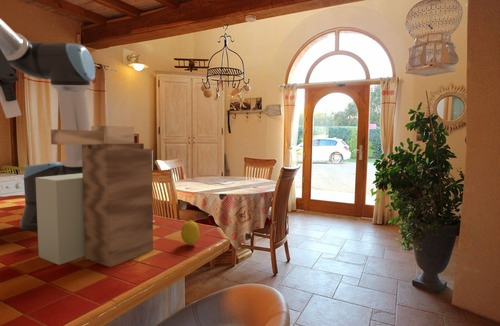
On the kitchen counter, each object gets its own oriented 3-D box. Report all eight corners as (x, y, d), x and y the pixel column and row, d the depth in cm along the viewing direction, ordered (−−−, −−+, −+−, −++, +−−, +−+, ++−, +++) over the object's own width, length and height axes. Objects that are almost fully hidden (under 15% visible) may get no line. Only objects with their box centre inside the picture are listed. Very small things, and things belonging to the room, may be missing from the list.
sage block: (38, 256, 83) (35, 177, 81) (87, 242, 95) (85, 172, 93) (59, 264, 78) (55, 180, 76) (107, 248, 90) (106, 175, 89)
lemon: (182, 242, 96) (182, 217, 96) (200, 242, 97) (200, 217, 96) (180, 248, 91) (179, 222, 90) (198, 248, 91) (198, 222, 91)
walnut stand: (85, 258, 83) (81, 142, 80) (128, 243, 95) (126, 142, 92) (110, 267, 77) (107, 143, 75) (153, 250, 89) (151, 143, 87)
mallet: (47, 149, 71) (46, 123, 70) (117, 148, 87) (117, 127, 87) (64, 150, 68) (63, 123, 67) (134, 148, 84) (134, 127, 84)
